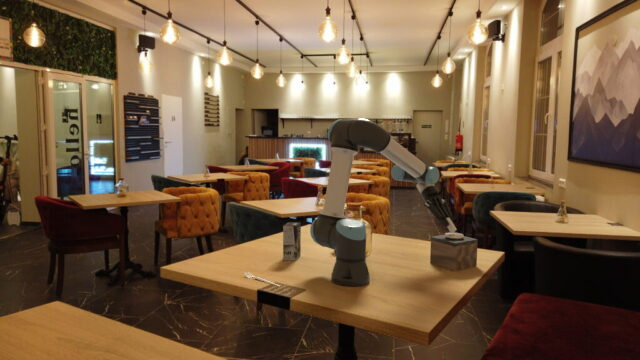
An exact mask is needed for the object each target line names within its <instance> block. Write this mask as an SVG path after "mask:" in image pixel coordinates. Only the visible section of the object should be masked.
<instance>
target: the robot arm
mask: <svg viewBox="0 0 640 360" xmlns="http://www.w3.org/2000/svg"><path fill="white" fill-rule="evenodd" d="M327 139H328V141H329V143H330V150H331V152H332V158H331V163H330V170H329V176H328V180H327V181H328V182H327V186H326V191H325V197H324V203H323V208H322V209H321V210H320V211H318V214H317V215H318V216H317V217H316V218H315V219H314V220H313V221H312V223H311V225H310V230H309V232H310V236H311V238H312V240H313V242H314V243H316V244H317V245H319V246H321V247H322V248H328V249H331V250H334V251H335V263H334V266H333V269H332V272H331V279H330V280H331V282H332V283H333V284H336V285H339V286H344V287H345V286H346V287H359V286H366V285H367V284H369V283H370V281H371V275H370V271H369V268H368V265H367V261H366V260H367V259H366V258H367V257H366V254H367V228H366V225H365V223H364V222H362V221H360V220H357V219H350V218H347V217H346V215H345V213H344V212H345V205H346V200H347V195H348V188H349V185H350V184H349V183H350V179H351V173H352V169H353V168H352V167H353V161H354V157H355V156H356V155H358V153H359V149H360V148H365V149H369V150H370V151H373V152H375V153H377V154H379V153H380V154H381V155H382V156H384V157H385V158H387V159H388V160H389V161H391V162H392V163H394V164H395V165H393V166H392V168H391V172H390V173H391V174H390V175H391V177H392V179H393V180H395V181H398V182H410V183H413V184H414V185H415V187H416V189H417V190H418V192H419V193H420V194H421V197H422V198H423V200H424V201H425V203H424V204H423V205H424V207H426V208H427V209H428V210H429V211H430V212H431V213H432V214H433V216H434V217H435V218H436V219H437V220H438V221H440V222H441V223H442V222H443V224H444V226H445V227H446V228H447V229H448V231H449V233H456V231H457V228H456V226H455V224H454V222H453V220H452V219H451V218H452V217H453V214H452V211H451V209H450V206H449V204H448V199H447V198H445V199H443V198H442V197H441V196H440V193H439V190H438V189H437V187H436V186H435V184H436V183H437V182H438V181H439V179H440V171H439V169H438V168H437V167H434V166H428V165H427V164H426V163H425V162H423V161H421V160H420V159H419V158H418V157H417V156H416V155H414V154H413V153H411V152H410V151H409V150H407V148H405V147H404V146H403V145H401V144H400V143H398V141H396V140H395V139H394V138H392V135H391V133H390V132H389V131H387V130H386V129H385V128H384V127H382V126H381V125H379V124H378V123H376V122H374V121H373V120H370V119H367V118H359V117H358V118H340V119H336V120H335V121H334V122H332V123H331V124H330V125H329V127H328V130H327Z"/></svg>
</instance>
